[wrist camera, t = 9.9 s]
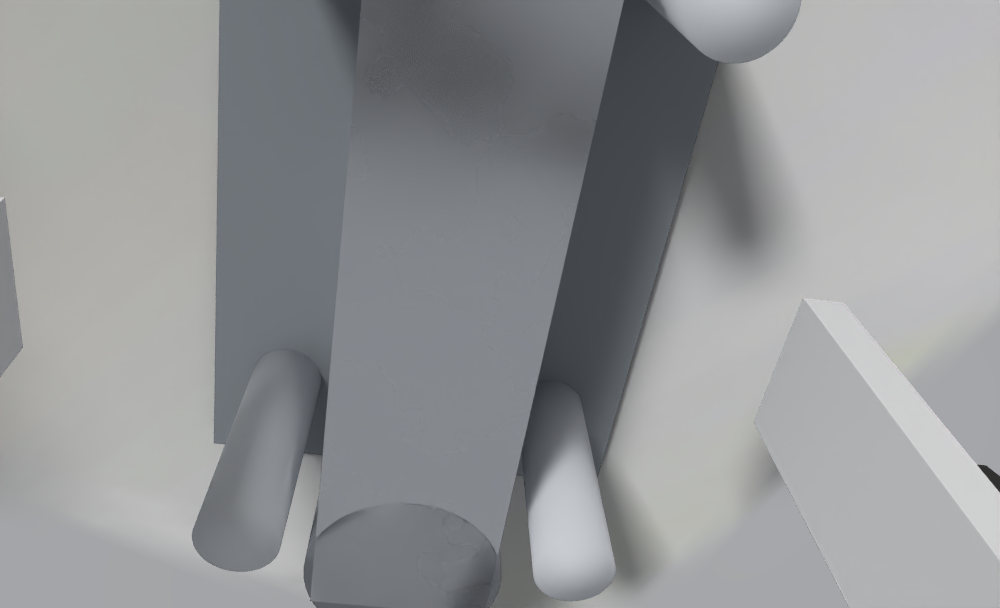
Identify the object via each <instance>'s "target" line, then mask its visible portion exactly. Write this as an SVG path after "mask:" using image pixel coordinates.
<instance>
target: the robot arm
mask: <svg viewBox="0 0 1000 608" xmlns="http://www.w3.org/2000/svg"><path fill="white" fill-rule="evenodd" d="M22 348H23V344H22V336H21V328H20V320H19V311H18V303H17V295H16V287H15V278H14V270H13V262H12V254H11V245H10V237H9V229H8V220H7V212H6V204H5V198H3V197H0V377H1V375H2V374H3V373H4V371H5V370H6V369H7V367H8V366H9V365H10V363H11V362H12V361H13V360H14V358H15V357H16V356H17V354H18V353H19V352H20V350H21V349H22ZM754 424H755V426H756V428H757V430H758V432H759V434H760V436H761V438H762V440H763V441H764V443H765V445H766V447H767V449H768V451H769V453H770V455H771V457H772V459H773V461H774V463H775V465H776V467H777V469H778V471H779V473H780V474H781V476H782V478H783V480H784V482H785V484H786V486H787V488H788V490H789V492H790V494H791V496H792V498H793V500H794V502H795V504H796V506H797V507H798V509H799V511H800V513H801V515H802V517H803V519H804V521H805V523H806V525H807V527H808V529H809V531H810V533H811V535H812V537H813V538H814V540H815V542H816V544H817V546H818V548H819V550H820V552H821V554H822V556H823V558H824V560H825V562H826V564H827V566H828V568H829V569H830V572H831V573H832V575H833V577H834V579H835V581H836V583H837V585H838V587H839V589H840V591H841V593H842V595H843V597H844V598H845V601H846V602H847V605H848V606H849V608H1000V476H999V475H998V474H996V473H995V472H994V471H992V470H991V469H990V468H988V467H987V466H984V465H977V464H976V463H975V462H974V461H973V460H972V458H971V457H970V456H969V455H968V454H967V452H966V451H965V450H964V449H963V447H962V446H961V445H960V444H959V443H958V441H957V440H956V439H955V438H954V436H953V435H952V434H951V433H950V432H949V430H948V429H947V428H946V427H945V425H944V424H943V423H942V422H941V421H940V420H939V418H938V417H937V416H936V415H935V414H934V412H933V411H932V410H931V408H930V407H929V406H928V405H927V404H926V403H925V401H924V400H923V399H922V397H921V396H920V395H919V394H918V393H917V391H916V390H915V389H914V388H913V387H912V385H911V384H910V383H909V382H908V380H907V379H906V378H905V377H904V376H903V374H902V373H901V372H900V371H899V369H898V368H897V367H896V366H895V365H894V363H893V362H892V361H891V360H890V359H889V357H888V356H887V355H886V354H885V352H884V351H883V350H882V349H881V348H880V346H879V345H878V344H877V343H876V342H875V340H874V339H873V338H872V337H871V335H870V334H869V333H868V332H867V331H866V329H865V328H864V327H863V326H862V324H861V323H860V322H859V321H858V320H857V318H856V317H855V316H854V315H853V314H852V312H851V311H850V310H849V309H848V307H847V306H846V305H845V304H844V303H841V302H833V301H826V300H818V299H810V298H803V299H802V302H801V304H800V307H799V309H798V312H797V314H796V317H795V319H794V322H793V324H792V327H791V329H790V332H789V334H788V337H787V339H786V342H785V344H784V347H783V350H782V352H781V355H780V357H779V360H778V362H777V365H776V367H775V370H774V372H773V375H772V377H771V380H770V382H769V385H768V387H767V390H766V392H765V395H764V397H763V400H762V402H761V405H760V407H759V410H758V413H757V415H756V418H755V420H754Z"/></svg>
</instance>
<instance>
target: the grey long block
mask: <svg viewBox="0 0 1000 608" xmlns="http://www.w3.org/2000/svg"><path fill="white" fill-rule="evenodd" d="M623 2H624V0H362V2H361V14H360V25H359V37H358V49H357V60H356V72H355V84H354V95H353V107H352V119H351V130H350V142H349V154H348V165H347V177H346V189H345V200H344V212H343V224H342V235H341V247H340V259H339V270H338V282H337V294H336V305H335V317H334V329H333V340H332V352H331V364H330V375H329V387H328V399H327V410H326V422H325V433H324V445H323V457H322V468H321V480H320V492H319V497H318V501H317V506H316V511H315V516H314V520H313V525H312V530H311V535H310V539H309V544H308V549H307V554H306V558H305V564H304V582H305V587H306V589H307V592H308V595H309V597H310V601H312V602H313V604H314V605H315V606H316V608H489V607H490V606H491V605H492V603H493V601H494V599H495V597H496V596H497V593H498V590H499V587H500V581H501V563H500V544H501V539H502V535H503V531H504V526H505V522H506V517H507V513H508V509H509V504H510V500H511V495H512V491H513V487H514V482H515V478H516V473H517V469H518V465H519V460H520V456H521V451H522V447H523V443H524V438H525V434H526V429H527V425H528V420H529V416H530V412H531V407H532V403H533V398H534V394H535V390H536V385H537V381H538V376H539V372H540V368H541V363H542V359H543V354H544V350H545V346H546V341H547V337H548V332H549V328H550V324H551V319H552V315H553V310H554V306H555V302H556V297H557V293H558V288H559V284H560V279H561V275H562V271H563V266H564V262H565V257H566V253H567V249H568V244H569V240H570V235H571V231H572V227H573V222H574V218H575V213H576V209H577V205H578V200H579V196H580V191H581V187H582V183H583V178H584V174H585V169H586V165H587V160H588V156H589V152H590V147H591V143H592V138H593V134H594V130H595V125H596V121H597V116H598V112H599V108H600V103H601V99H602V94H603V90H604V86H605V81H606V77H607V72H608V68H609V64H610V59H611V55H612V50H613V46H614V41H615V37H616V33H617V28H618V24H619V19H620V15H621V11H622V6H623Z"/></svg>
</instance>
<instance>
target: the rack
mask: <svg viewBox="0 0 1000 608" xmlns="http://www.w3.org/2000/svg"><path fill="white" fill-rule="evenodd" d="M361 2H362V0H220V21H219V98H218V174H217V251H216V327H215V404H214V443H217V444H225V446H224V449H223V452H222V454H221V457H220V460H219V462H218V465H217V467H216V470H215V473H214V475H213V478H212V481H211V483H210V486H209V489H208V491H207V494H206V496H205V499H204V502H203V504H202V507H201V510H200V512H199V515H198V518H197V520H196V523H195V525H194V528H193V532H192V541H193V545H194V547H195V549H196V550H197V552H198V553H199V554H200V556H201V557H202V558H204V559H205V560H206V561H207V562H209V563H210V564H212V565H214V566H216V567H219V568H221V569H225V570H229V571H236V572H246V571H253V570H257V569H260V568H262V567H264V566H266V565H268V564H269V563H271V562H272V561H273V560H274V559H275V557H276V556H277V554H278V553H279V550H280V546H281V542H282V538H283V534H284V530H285V526H286V522H287V518H288V514H289V510H290V506H291V502H292V498H293V494H294V490H295V486H296V482H297V478H298V474H299V470H300V466H301V462H302V458H303V454H304V453H311V454H320V455H323V445H324V433H325V422H326V410H327V399H328V387H329V375H330V364H331V352H332V340H333V329H334V317H335V305H336V294H337V282H338V270H339V259H340V247H341V235H342V224H343V212H344V200H345V189H346V177H347V165H348V154H349V142H350V130H351V119H352V107H353V95H354V84H355V72H356V60H357V49H358V37H359V25H360V14H361ZM800 6H801V0H624V2H623V6H622V11H621V15H620V19H619V24H618V28H617V33H616V37H615V41H614V46H613V50H612V55H611V59H610V64H609V68H608V72H607V77H606V81H605V86H604V90H603V94H602V99H601V103H600V108H599V112H598V116H597V121H596V125H595V130H594V134H593V138H592V143H591V147H590V152H589V156H588V160H587V165H586V169H585V174H584V178H583V183H582V187H581V191H580V196H579V200H578V205H577V209H576V213H575V218H574V222H573V227H572V231H571V235H570V240H569V244H568V249H567V253H566V257H565V262H564V266H563V271H562V275H561V279H560V284H559V288H558V293H557V297H556V302H555V306H554V310H553V315H552V319H551V324H550V328H549V332H548V337H547V341H546V346H545V350H544V354H543V359H542V363H541V368H540V372H539V376H538V381H537V385H536V390H535V394H534V398H533V403H532V407H531V412H530V416H529V420H528V425H527V429H526V434H525V438H524V443H523V447H522V451H521V456H520V460H519V465H518V469H517V473H516V475H518V476H524V486H525V496H526V506H527V516H528V526H529V536H530V547H531V557H532V567H533V577H534V581H535V583H536V585H537V587H538V588H539V589H540V590H541V591H542V592H543V593H545V594H546V595H548V596H550V597H552V598H555V599H558V600H563V601H579V600H584V599H588V598H591V597H593V596H596V595H598V594H599V593H601V592H602V591H604V590H605V589H606V588H607V587H608V586H609V585H610V584H611V582H612V581H613V579H614V576H615V572H616V566H615V560H614V556H613V551H612V546H611V541H610V537H609V532H608V527H607V522H606V518H605V513H604V508H603V503H602V499H601V494H600V489H599V484H598V480H597V477H598V474H599V470H600V467H601V464H602V460H603V457H604V453H605V450H606V446H607V443H608V439H609V436H610V433H611V429H612V426H613V422H614V419H615V415H616V412H617V409H618V405H619V402H620V398H621V395H622V391H623V388H624V385H625V381H626V378H627V374H628V371H629V367H630V364H631V360H632V357H633V354H634V350H635V347H636V343H637V340H638V336H639V333H640V330H641V326H642V323H643V319H644V316H645V312H646V309H647V305H648V302H649V299H650V295H651V292H652V288H653V285H654V281H655V278H656V275H657V271H658V268H659V264H660V261H661V257H662V254H663V251H664V247H665V244H666V240H667V237H668V233H669V230H670V226H671V223H672V220H673V216H674V213H675V209H676V206H677V202H678V199H679V196H680V192H681V189H682V185H683V182H684V178H685V175H686V171H687V168H688V165H689V161H690V158H691V154H692V151H693V147H694V144H695V141H696V137H697V134H698V130H699V127H700V123H701V120H702V117H703V113H704V110H705V106H706V103H707V99H708V96H709V92H710V89H711V86H712V82H713V79H714V75H715V72H716V68H717V65H718V62H723V63H731V64H735V63H744V62H749V61H752V60H755V59H757V58H760V57H762V56H764V55H765V54H767V53H769V52H770V51H771V50H773V49H774V48H775V47H776V46H778V45H779V44H780V43H781V42H782V41H783V39H784V38H785V37H786V36H787V34H788V33H789V32H790V30H791V29H792V27H793V25H794V23H795V21H796V18H797V16H798V13H799V9H800Z"/></svg>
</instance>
